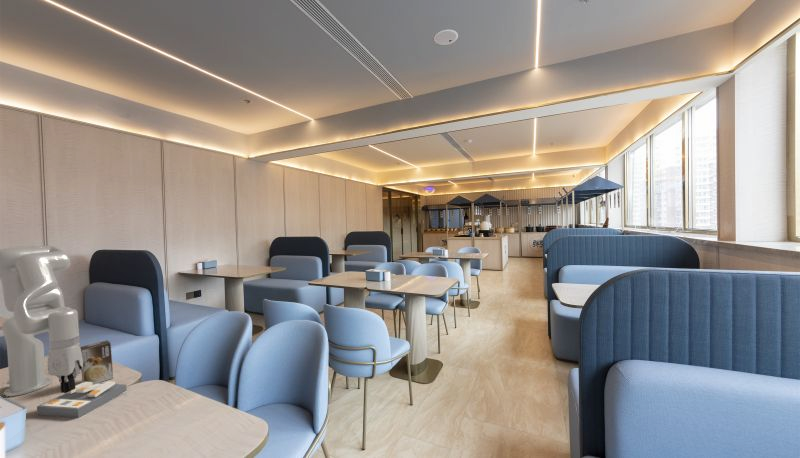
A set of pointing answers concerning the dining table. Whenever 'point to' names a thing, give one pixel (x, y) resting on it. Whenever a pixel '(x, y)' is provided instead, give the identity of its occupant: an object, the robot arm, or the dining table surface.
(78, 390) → the rocker
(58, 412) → the switch unit
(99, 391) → the rocker
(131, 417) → the dining table surface
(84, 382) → the rocker
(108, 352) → the coffee box
